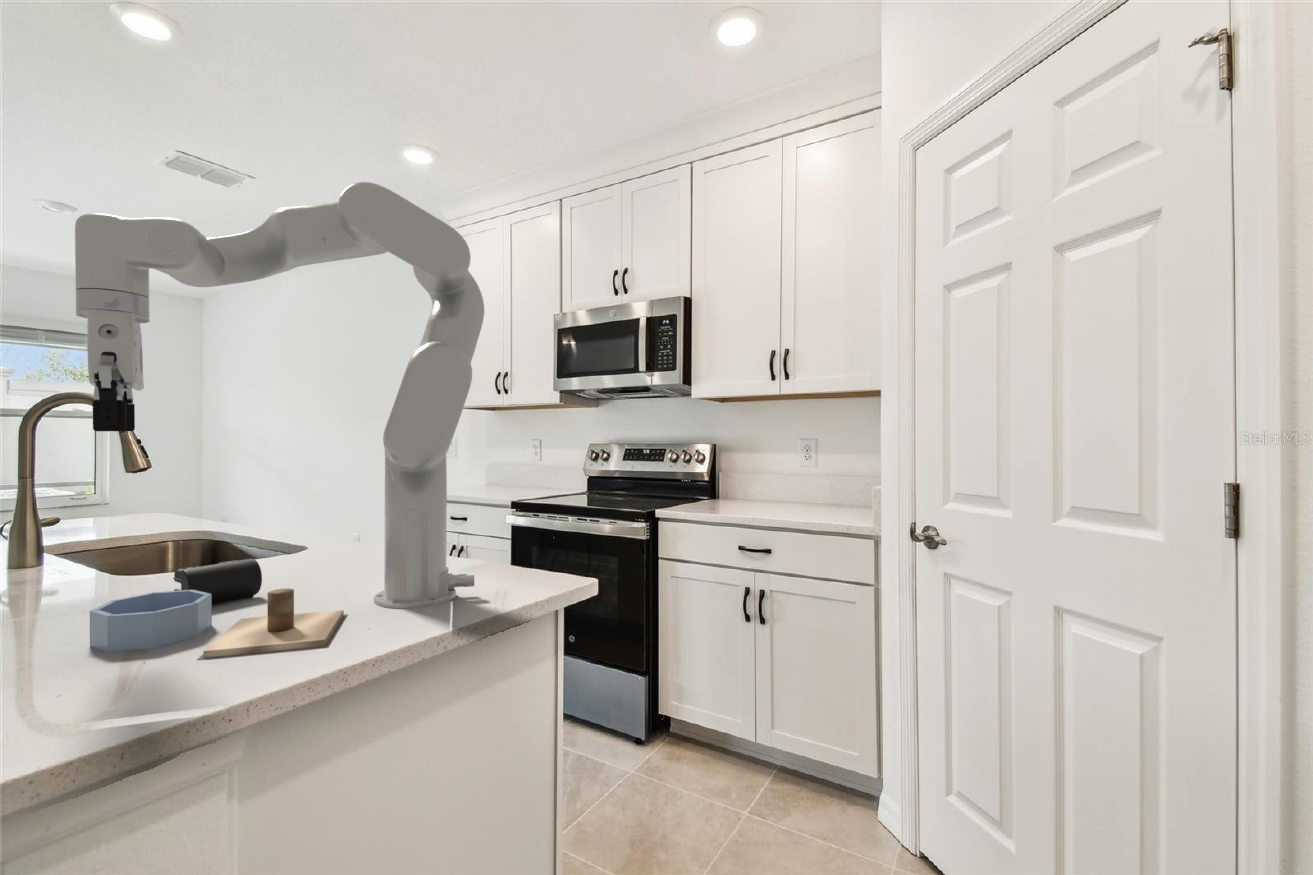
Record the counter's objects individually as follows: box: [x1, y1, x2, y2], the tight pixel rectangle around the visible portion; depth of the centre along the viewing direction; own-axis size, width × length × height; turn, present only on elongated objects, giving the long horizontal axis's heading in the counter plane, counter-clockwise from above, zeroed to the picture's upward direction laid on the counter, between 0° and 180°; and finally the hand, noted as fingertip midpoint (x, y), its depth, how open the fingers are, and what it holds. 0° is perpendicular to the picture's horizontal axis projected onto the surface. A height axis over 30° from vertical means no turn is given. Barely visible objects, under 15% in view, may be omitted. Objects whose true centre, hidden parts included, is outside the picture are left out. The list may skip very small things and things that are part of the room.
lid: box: [202, 588, 345, 658], centre depth 79 cm, size 13×13×6 cm
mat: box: [196, 614, 349, 661], centre depth 79 cm, size 14×14×1 cm
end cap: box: [172, 558, 263, 606], centre depth 94 cm, size 10×7×7 cm
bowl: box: [89, 589, 213, 653], centre depth 79 cm, size 11×11×5 cm
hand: (115, 431), depth 82 cm, fingers open, 9 cm apart
